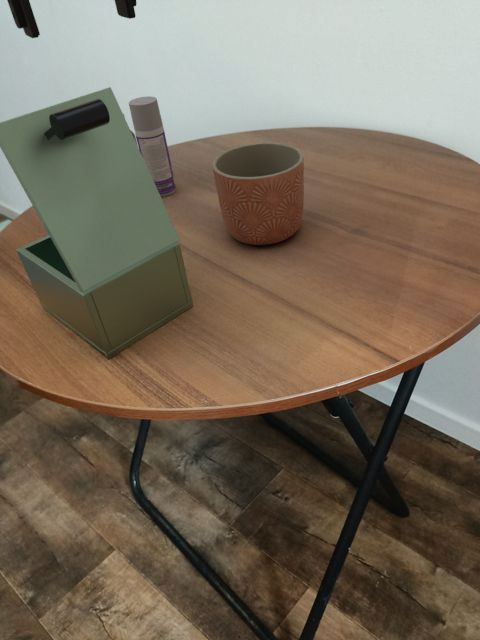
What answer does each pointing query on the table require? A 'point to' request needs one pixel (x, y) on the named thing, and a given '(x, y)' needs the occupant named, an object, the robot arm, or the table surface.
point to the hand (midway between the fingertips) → (81, 26)
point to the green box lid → (88, 185)
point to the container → (153, 142)
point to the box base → (110, 296)
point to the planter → (260, 191)
